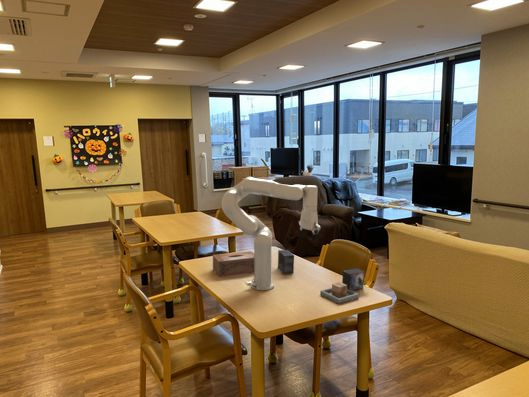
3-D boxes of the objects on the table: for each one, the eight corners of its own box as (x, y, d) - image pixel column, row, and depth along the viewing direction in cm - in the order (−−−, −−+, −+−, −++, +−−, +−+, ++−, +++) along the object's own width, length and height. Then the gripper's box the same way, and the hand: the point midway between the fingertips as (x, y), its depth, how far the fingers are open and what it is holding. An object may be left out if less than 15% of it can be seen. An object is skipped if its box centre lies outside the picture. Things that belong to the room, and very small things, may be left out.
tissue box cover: (219, 277, 230) (219, 261, 228) (212, 270, 243) (212, 254, 242) (259, 272, 240) (259, 257, 238) (251, 265, 253) (251, 250, 251)
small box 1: (294, 274, 237) (294, 255, 235) (283, 274, 236) (283, 255, 234) (287, 267, 250) (288, 249, 248) (277, 268, 248) (277, 250, 246)
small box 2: (348, 292, 208) (349, 274, 207) (341, 288, 214) (342, 270, 213) (363, 289, 213) (364, 271, 212) (356, 285, 219) (356, 267, 217)
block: (339, 298, 199) (339, 287, 198) (331, 294, 204) (332, 283, 203) (346, 296, 202) (347, 285, 201) (339, 292, 207) (339, 282, 206)
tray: (338, 304, 193) (339, 299, 193) (320, 294, 205) (320, 290, 205) (358, 298, 201) (358, 293, 200) (339, 289, 212) (339, 285, 212)
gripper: (294, 206, 213) (293, 236, 215) (314, 211, 198) (313, 243, 201) (305, 205, 217) (304, 235, 219) (325, 210, 202) (324, 241, 205)
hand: (308, 239), depth 210 cm, fingers open, 9 cm apart
